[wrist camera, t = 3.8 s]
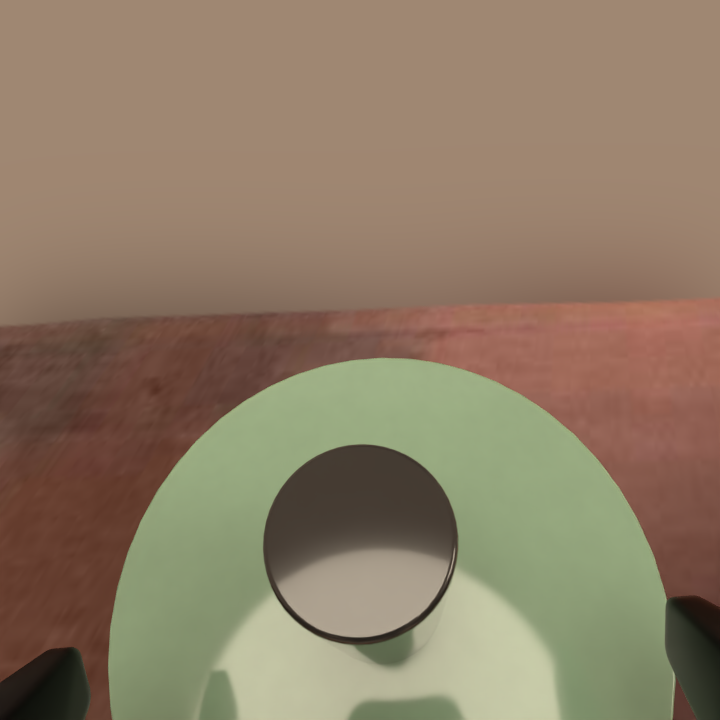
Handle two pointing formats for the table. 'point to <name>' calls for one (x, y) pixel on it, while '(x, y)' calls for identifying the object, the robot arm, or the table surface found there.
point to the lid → (389, 564)
